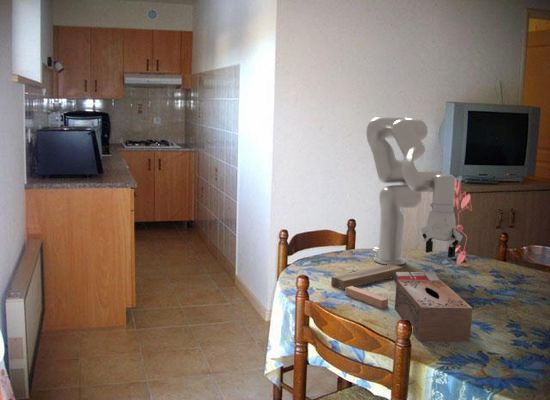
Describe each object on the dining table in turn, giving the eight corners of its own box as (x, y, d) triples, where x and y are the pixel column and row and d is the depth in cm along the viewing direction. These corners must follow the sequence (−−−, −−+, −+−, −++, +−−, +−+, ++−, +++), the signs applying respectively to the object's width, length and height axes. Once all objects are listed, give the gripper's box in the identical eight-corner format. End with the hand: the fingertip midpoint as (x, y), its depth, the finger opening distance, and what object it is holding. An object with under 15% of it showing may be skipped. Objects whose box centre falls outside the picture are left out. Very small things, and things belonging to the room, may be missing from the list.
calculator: (394, 271, 223) (435, 270, 222) (394, 282, 224) (434, 282, 223) (398, 279, 212) (442, 279, 212) (398, 291, 213) (441, 291, 212)
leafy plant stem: (462, 254, 264) (467, 175, 258) (476, 271, 239) (482, 183, 233) (426, 253, 265) (430, 174, 259) (436, 270, 240) (442, 182, 234)
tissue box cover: (394, 309, 192) (396, 279, 190) (438, 310, 193) (441, 280, 191) (418, 342, 166) (421, 307, 165) (469, 342, 167) (472, 308, 166)
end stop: (345, 294, 204) (345, 287, 204) (351, 292, 206) (352, 285, 206) (381, 308, 192) (381, 300, 192) (387, 306, 194) (388, 298, 193)
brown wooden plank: (331, 284, 214) (331, 276, 214) (390, 271, 234) (391, 263, 234) (343, 289, 210) (343, 280, 209) (402, 275, 230) (403, 267, 229)
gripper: (416, 206, 223) (414, 251, 225) (457, 212, 210) (454, 260, 212) (429, 204, 228) (426, 249, 230) (469, 210, 214) (466, 257, 217)
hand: (439, 254), depth 221 cm, fingers open, 9 cm apart
